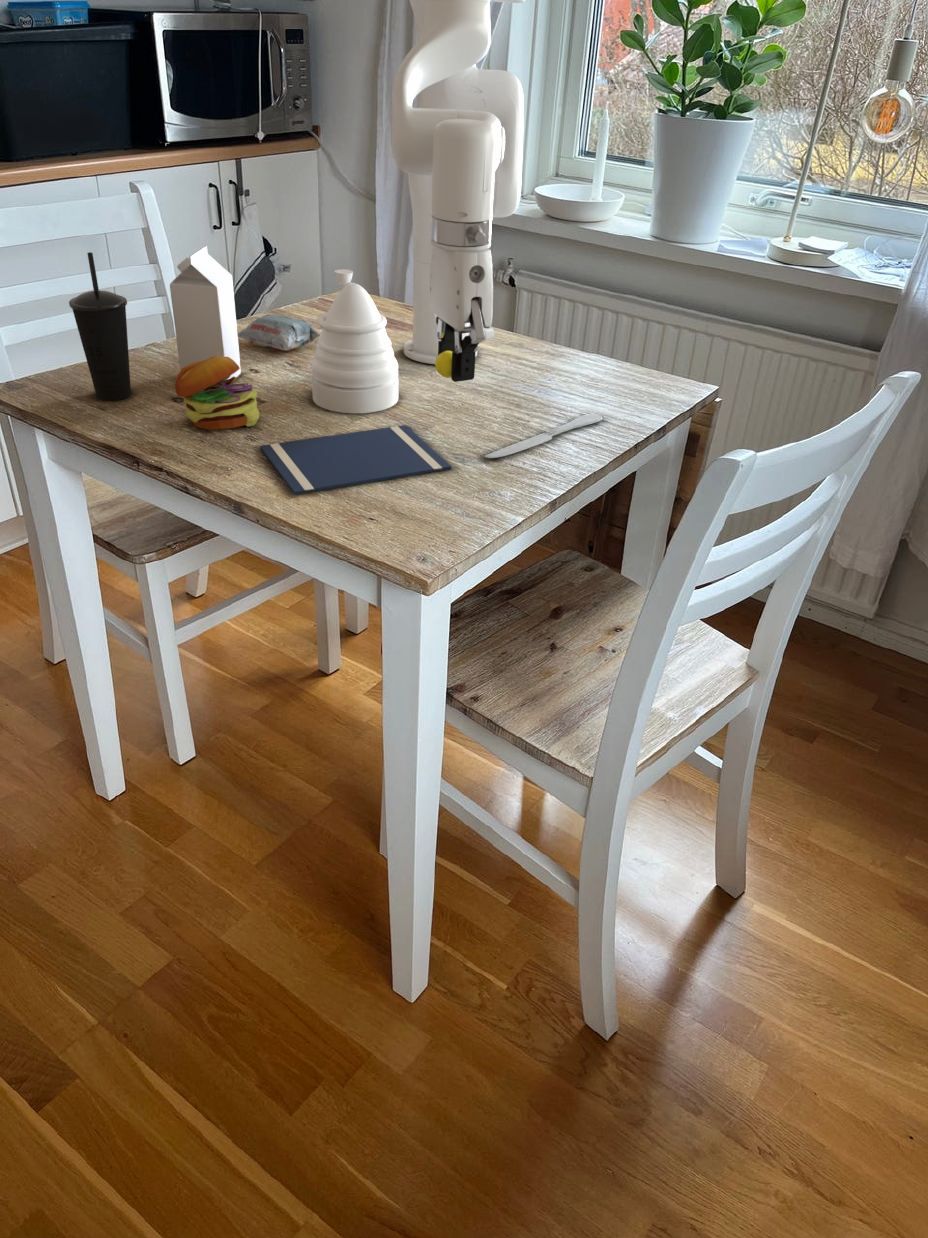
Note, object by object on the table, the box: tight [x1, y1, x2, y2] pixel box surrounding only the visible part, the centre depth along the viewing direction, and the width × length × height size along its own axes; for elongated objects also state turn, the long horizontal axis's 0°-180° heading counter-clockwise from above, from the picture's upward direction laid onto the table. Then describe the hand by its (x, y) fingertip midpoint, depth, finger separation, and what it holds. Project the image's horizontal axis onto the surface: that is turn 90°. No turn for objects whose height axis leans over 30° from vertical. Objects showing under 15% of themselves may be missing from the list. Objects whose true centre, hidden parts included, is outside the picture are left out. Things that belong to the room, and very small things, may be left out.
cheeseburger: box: [174, 356, 260, 431], centre depth 130 cm, size 10×11×10 cm
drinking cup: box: [68, 251, 132, 402], centre depth 133 cm, size 8×8×20 cm
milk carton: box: [169, 245, 242, 380], centre depth 141 cm, size 7×7×19 cm
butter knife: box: [483, 412, 603, 459], centre depth 132 cm, size 1×24×3 cm
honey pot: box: [310, 268, 399, 414], centre depth 137 cm, size 13×13×18 cm
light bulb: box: [434, 351, 452, 379], centre depth 127 cm, size 3×6×4 cm, turn 124°
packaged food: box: [237, 314, 321, 352], centre depth 159 cm, size 9×12×5 cm
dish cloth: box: [259, 424, 452, 496], centre depth 123 cm, size 21×15×1 cm
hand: (455, 373), depth 128 cm, fingers closed on light bulb, 3 cm apart
